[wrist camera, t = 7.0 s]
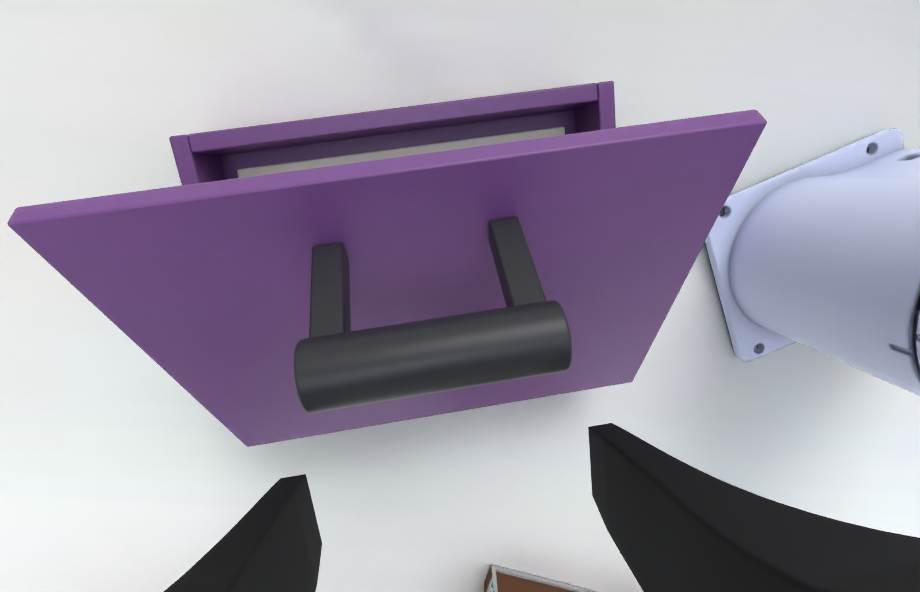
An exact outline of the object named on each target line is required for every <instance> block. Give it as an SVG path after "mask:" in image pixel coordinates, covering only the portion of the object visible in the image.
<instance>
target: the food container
mask: <svg viewBox="0 0 920 592" xmlns="http://www.w3.org/2000/svg"><path fill="white" fill-rule="evenodd" d="M484 592H596V591H592V590H588V589H584V588H580V587H576V586H573V585H569V584H565V583H561V582H557V581H553V580H549V579H545V578H541V577H537V576H534V575H530V574H526V573H522V572H518V571H514V570H510V569H506V568H502V567H498V566H495V565H491V567H490V569H489V572H488V575H487V578H486V580H485V588H484Z"/></svg>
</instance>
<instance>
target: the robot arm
mask: <svg viewBox="0 0 920 592" xmlns="http://www.w3.org/2000/svg"><path fill="white" fill-rule="evenodd" d="M868 145H869V151H868V153H867V152H866V150H867V147H868ZM723 207H724V208H725V213H724V215H723V216H721V217H720V215H719V216H718V218H717V220H716V222H715V223H714V225H713V227H712V229H711V231H710V233H709V235H708V237H707V239H706V241H705V243H706V247H707V251H708V254H709V258H710V262H711V266H712V269H713V273H714V277H715V281H716V284H717V288H718V292H719V296H720V299H721V303H722V307H723V311H724V314H725V318H726V322H727V326H728V329H729V333H730V337H731V341H732V344H733V348H734V352H735V355H736V357H737V358H739V359H740V360H742V361H744V362H750V361H753V360H755V359H757V358H760V357H762V356H764V355H767V354H769V353H771V352H774V351H776V350H778V349H781V348H783V347H785V346H788V345H790V344H792V343H795V342H798V343H800V344H802V345H805V346H807V347H809V348H812V349H814V350H816V351H818V352H821V353H823V354H825V355H827V356H830V357H832V358H834V359H837V360H839V361H841V362H843V363H846V364H848V365H850V366H853V367H855V368H857V369H859V370H862V371H864V372H866V373H868V374H871V375H873V376H875V377H878V378H880V379H882V380H884V381H887V382H889V383H891V384H893V385H896V386H898V387H900V388H903V389H905V390H907V391H909V392H912V393H914V394H916V395H919V396H920V148H914V149H904V143H903V136H902V133H901V131H900V130H899V129H896V128H891V129H885V130H882V131H880V132H877V133H875V134H873V135H870V136H868V137H865V138H863V139H861V140H858V141H856V142H854V143H851V144H849V145H847V146H844V147H842V148H840V149H837V150H835V151H833V152H830V153H828V154H826V155H823V156H821V157H819V158H816V159H814V160H812V161H809V162H807V163H805V164H802V165H800V166H798V167H795V168H793V169H791V170H788V171H786V172H784V173H781V174H779V175H777V176H774V177H772V178H770V179H767V180H765V181H763V182H760V183H758V184H756V185H753V186H751V187H749V188H746V189H744V190H742V191H739V192H737V193H735V194H732V195H730V196H729V197H728V198H727V200H726V202H725V204H724V206H723ZM757 344H758V348H757V349H756V350H754V347H755V345H757ZM588 428H589V445H590V462H591V478H592V495H593V498H594V500H595V502H596V505H597V507H598V509H599V512H600V514H601V516H602V519H603V521H604V523H605V525H606V528H607V530H608V532H609V534H610V535H611V537H612V539H613V541H614V542H615V544H616V546H617V547H618V549H619V551H620V553H621V554H622V556H623V558H624V559H625V561H626V563H627V564H628V566H629V568H630V569H631V571H632V573H633V574H634V576H635V578H636V579H637V581H638V583H639V585H640V586H641V588H642V590H643V591H644V592H920V538H917V537H912V536H906V535H901V534H895V533H890V532H885V531H880V530H875V529H871V528H867V527H863V526H859V525H855V524H850V523H846V522H842V521H838V520H834V519H831V518H827V517H823V516H820V515H816V514H813V513H809V512H806V511H803V510H800V509H797V508H794V507H790V506H787V505H784V504H781V503H778V502H775V501H772V500H769V499H766V498H764V497H761V496H758V495H756V494H753V493H751V492H748V491H746V490H743V489H740V488H738V487H735V486H733V485H730V484H728V483H726V482H723V481H721V480H719V479H717V478H715V477H712V476H710V475H708V474H706V473H704V472H702V471H700V470H698V469H696V468H693V467H691V466H689V465H688V464H686V463H684V462H682V461H680V460H678V459H676V458H674V457H672V456H670V455H668V454H667V453H665V452H663V451H661V450H659V449H657V448H656V447H654V446H652V445H650V444H649V443H647V442H645V441H643V440H642V439H640V438H638V437H636V436H634V435H633V434H631V433H629V432H627V431H626V430H624V429H622V428H620V427H618V426H616V425H614V424H612V423H609V424H603V425H597V426H591V427H588ZM321 547H322V541H321V537H320V533H319V529H318V524H317V520H316V516H315V512H314V507H313V503H312V499H311V495H310V491H309V486H308V482H307V478H306V474H304V475H298V476H292V477H286V478H281V479H280V480H279V481H278V482H276V483H275V484H274V485H273V486H272V487H271V488H270V490H269V491H268V492H267V493H266V494H265V495H264V496H263V497H262V498H261V499H260V500H259V501H258V502H257V503H256V504H255V505H254V506H253V507H252V508H251V510H250V511H249V512H248V513H247V514H246V515H245V516H244V517H243V518H242V519H241V520H240V521H239V522H238V523H237V524H236V525H235V526H234V527H233V528H232V529H231V530H230V531H229V532H228V533H227V534H226V535H225V536H224V537H223V538H222V539H221V540H220V541H219V542H218V543H217V544H216V545H215V546H214V547H213V548H212V549H211V550H210V551H209V552H208V553H206V554H205V555H204V556H203V557H202V558H201V559H200V560H199V561H198V562H197V563H196V564H195V565H194V566H193V567H192V568H191V569H190V570H188V571H187V572H186V573H185V574H184V575H183V576H182V577H180V578H179V579H178V580H177V581H176V582H175V583H174V584H172V585H171V586H170V587H169V588H168V589H166V590H165V591H164V592H315V590H316V586H317V580H318V572H319V565H320V556H321Z"/></svg>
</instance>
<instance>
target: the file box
mask: <svg viewBox="0 0 920 592" xmlns="http://www.w3.org/2000/svg"><path fill="white" fill-rule="evenodd" d="M555 127H564V128H565V135H567V134H575V133H582V132H590V131H597V130H605V129H612V128H616V126H615V103H614V82H613V81H607V82H599V83H597V84H596V83H592V84H584V85H576V86H568V87H560V88H552V89H544V90H536V91H528V92H520V93H512V94H504V95H496V96H488V97H480V98H473V99H465V100H457V101H449V102H441V103H433V104H425V105H417V106H409V107H401V108H393V109H385V110H377V111H369V112H361V113H354V114H346V115H338V116H330V117H322V118H314V119H306V120H298V121H290V122H282V123H274V124H266V125H258V126H250V127H242V128H235V129H227V130H219V131H211V132H203V133H195V134H189V135H179V136H171V137H170V138H169V139H170V143H171V146H172V150H173V154H174V157H175V161H176V165H177V168H178V172H179V176H180V179H181V183H182V186H183V185H191V184H198V183H206V182H213V181H221V180H228V179H236V178H238V173H237V170H238V169H244V168H251V167H259V166H266V165H274V164H282V163H289V162H297V161H304V160H312V159H320V158H327V157H335V156H342V155H350V154H358V153H365V152H373V151H380V150H388V149H396V148H403V147H411V146H418V145H426V144H434V143H441V142H449V141H456V140H464V139H472V138H479V137H487V136H494V135H502V134H510V133H517V132H525V131H532V130H540V129H548V128H555Z"/></svg>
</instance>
